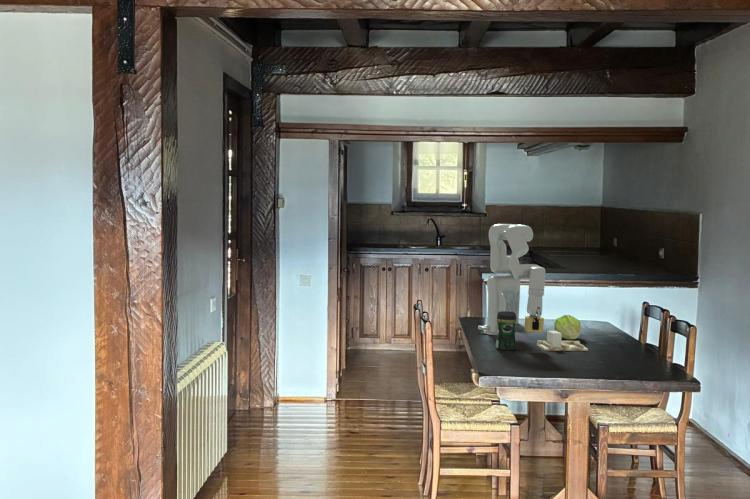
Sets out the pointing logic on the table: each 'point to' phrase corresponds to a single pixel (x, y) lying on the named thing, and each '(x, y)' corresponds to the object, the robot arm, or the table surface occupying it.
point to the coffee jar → (506, 330)
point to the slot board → (563, 346)
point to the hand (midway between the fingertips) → (533, 328)
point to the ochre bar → (530, 321)
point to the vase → (513, 302)
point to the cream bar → (554, 338)
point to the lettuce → (568, 327)
